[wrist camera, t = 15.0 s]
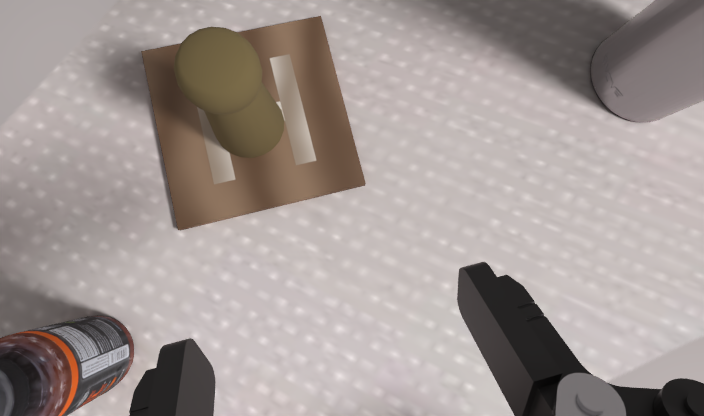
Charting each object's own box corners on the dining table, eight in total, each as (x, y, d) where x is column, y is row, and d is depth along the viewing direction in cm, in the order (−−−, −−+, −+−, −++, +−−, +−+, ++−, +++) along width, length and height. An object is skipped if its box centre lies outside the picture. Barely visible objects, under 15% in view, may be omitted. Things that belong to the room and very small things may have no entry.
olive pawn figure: (198, 121, 33) (134, 52, 22) (252, 77, 34) (216, -11, 23) (245, 172, 33) (205, 128, 22) (299, 126, 33) (285, 61, 22)
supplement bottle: (84, 408, 30) (-61, 497, 19) (45, 344, 30) (-121, 393, 19) (152, 361, 31) (52, 419, 19) (113, 299, 31) (-8, 320, 20)
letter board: (320, 20, 36) (320, 16, 35) (364, 185, 34) (365, 183, 33) (144, 55, 34) (141, 51, 33) (180, 230, 32) (177, 229, 32)
